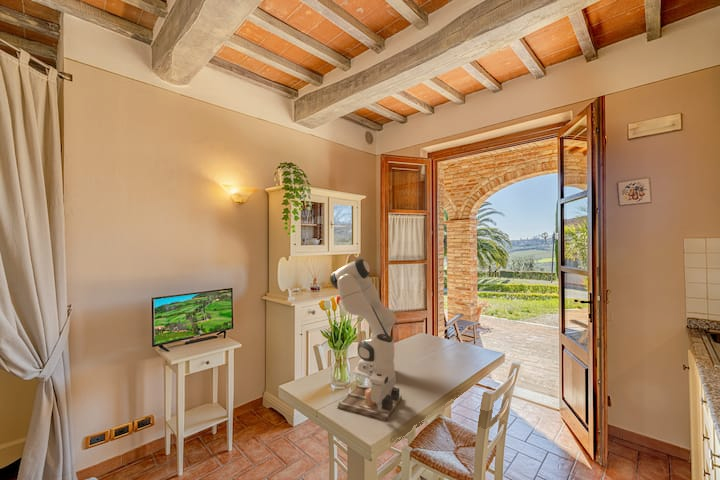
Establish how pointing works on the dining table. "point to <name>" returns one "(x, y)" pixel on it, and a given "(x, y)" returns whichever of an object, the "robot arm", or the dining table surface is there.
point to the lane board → (355, 401)
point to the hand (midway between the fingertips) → (384, 403)
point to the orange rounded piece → (369, 398)
